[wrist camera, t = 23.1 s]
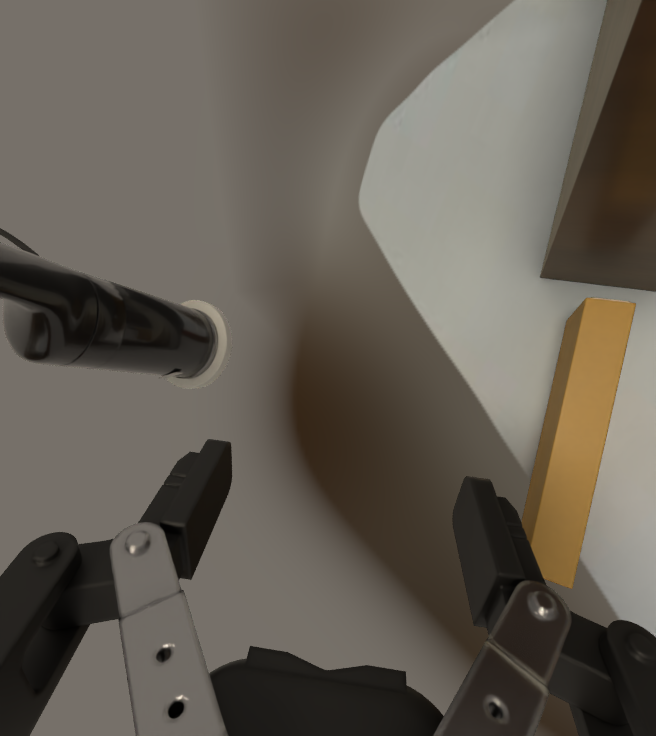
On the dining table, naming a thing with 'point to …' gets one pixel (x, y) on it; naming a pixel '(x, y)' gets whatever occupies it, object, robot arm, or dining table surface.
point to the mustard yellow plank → (575, 434)
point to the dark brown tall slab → (612, 161)
